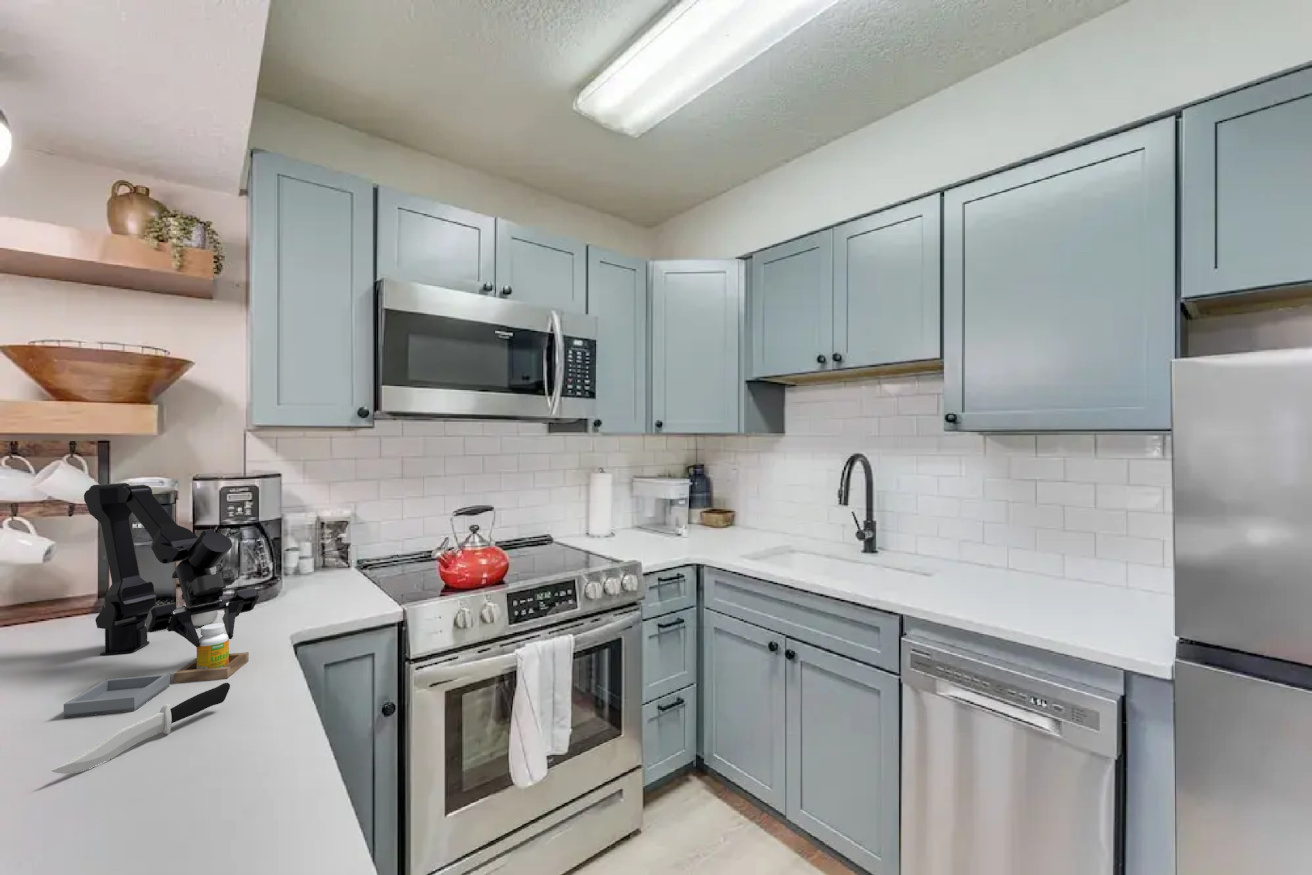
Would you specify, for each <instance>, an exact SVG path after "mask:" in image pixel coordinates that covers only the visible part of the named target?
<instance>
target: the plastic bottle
mask: <svg viewBox="0 0 1312 875" xmlns="http://www.w3.org/2000/svg"><path fill="white" fill-rule="evenodd" d="M210 570H211V573H212V574H217V565H216V566H215V567H213V568H210ZM218 614H219V613H218V610H216V611H212V612H207V613H202V614H197V615H192V616H191V618H192V622H193V625H194V627H203V625H204V626H205V625H209V624H214V622H215V621H216V620H217V618H218Z"/></svg>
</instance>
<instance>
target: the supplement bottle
mask: <svg viewBox="0 0 1312 875" xmlns="http://www.w3.org/2000/svg"><path fill="white" fill-rule="evenodd" d="M200 635H201V636H200V637H199V641H200V646H199V647H196V658H197V669H207V668H218V667H224V666H226V665H227V664H228V663H229V654H230V641H229V640H230V639H229V636H228V634H227V633H226V629H225V625H224V623H223V622H216V623H214V622H213V623H210V624H207V625H204V626H200Z"/></svg>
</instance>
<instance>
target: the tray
mask: <svg viewBox="0 0 1312 875" xmlns="http://www.w3.org/2000/svg"><path fill="white" fill-rule="evenodd" d="M170 677H171V676H170V673H164V674H154V675H152V674H151V675H143V676H142V675H141V676H131V677H119V678H118V677H117V678H110V679H109V678H108V679H105V680H102V681H100V682H99V683H97V684H95V685H94V686H92V687H90V688H89V689H86V691H84V692H82V693H80V694H79V695H77V696H75V697H73V698H71V699H70V700H68V701H66V702H65V703H63V719H67V718H80V716H81V717H89V716H88V715H91V716H99V714H101V715H107V714H108V715H111V714H119V713H118V712H121V713H126V712H125V711H131V712H134V711H133V710H135V711H137V710H138V709H140V708H141V707H143V706H144V705H145V704H147V703H148V702H150V701H152V698H153V697H154V698H155V697H157V696H158V695H159V693H160V694H161V693H162V692H164V691H165V690H167V689H168V688H169V687H170V686H171V685H170V684H171V683H170V681H171V680H170ZM156 695H157V696H156ZM154 698H153V699H154ZM147 701H148V702H147ZM146 702H147V703H146ZM140 706H141V707H140ZM139 707H140V708H139ZM95 714H97V715H95Z"/></svg>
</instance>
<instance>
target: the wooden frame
mask: <svg viewBox="0 0 1312 875" xmlns="http://www.w3.org/2000/svg"><path fill="white" fill-rule="evenodd" d="M249 655H250V653H249V652H248V651H247V652H246V651H245V652H236V653H234V652H231V653H229V663H228V664H227V665H226V666H224V667H218V668H207V669H197V657H195V659H193V660H192V661H191V662H189V663H186V665H184V666H182V667H181V668H180V669H178V670H176V671H175V672H174V673H173V684H180V683H181V684H183V683H193V682H204V681H215V680H216V681H217V680H223V679H227V680H228V679H229V678H230V677H231V676H232V675H234V673H236V672H238V671H239V669H241V668H242V667H243V666H244V664H245V665H246V664H247V663H248V662H249V658H250V657H249Z"/></svg>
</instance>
